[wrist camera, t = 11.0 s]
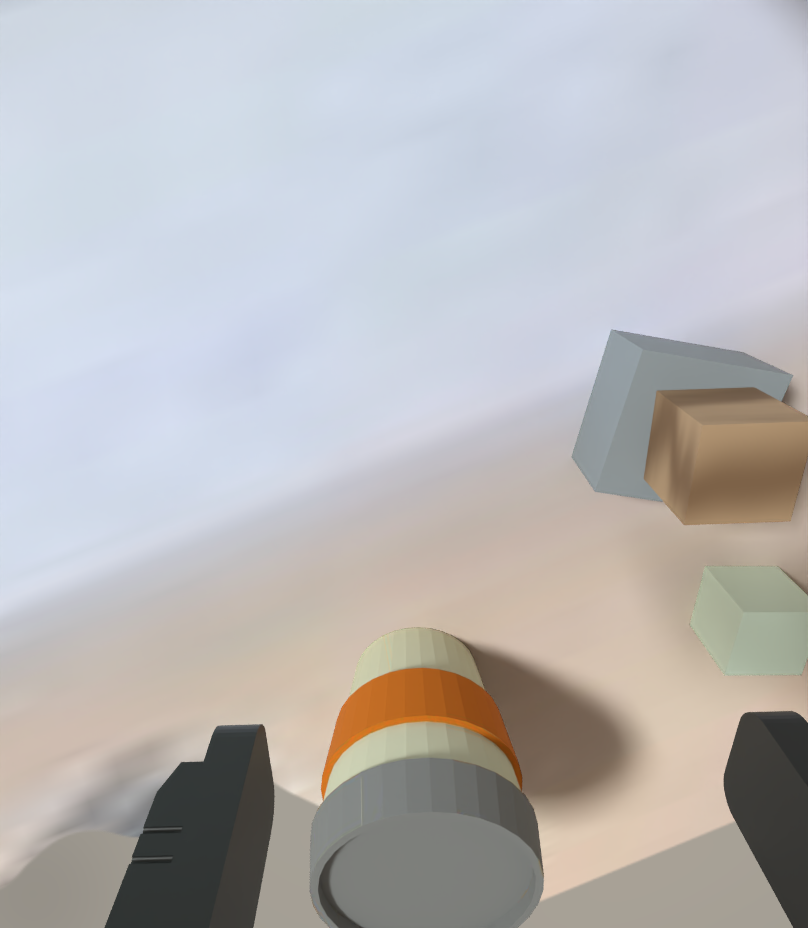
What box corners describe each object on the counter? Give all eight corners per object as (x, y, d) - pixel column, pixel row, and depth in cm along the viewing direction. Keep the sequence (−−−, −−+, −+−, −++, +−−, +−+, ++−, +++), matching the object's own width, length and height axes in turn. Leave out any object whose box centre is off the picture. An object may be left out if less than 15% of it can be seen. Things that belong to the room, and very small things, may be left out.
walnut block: (656, 390, 31) (702, 425, 26) (754, 387, 31) (817, 421, 26) (643, 478, 33) (683, 524, 28) (735, 475, 33) (790, 521, 28)
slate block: (609, 328, 34) (643, 349, 30) (741, 351, 35) (793, 375, 31) (570, 455, 38) (594, 491, 33) (691, 474, 38) (731, 512, 34)
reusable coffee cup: (455, 754, 48) (480, 979, 34) (306, 709, 46) (270, 930, 32) (531, 640, 43) (596, 846, 30) (370, 583, 41) (359, 778, 27)
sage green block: (704, 565, 41) (743, 612, 36) (777, 565, 41) (824, 612, 37) (689, 624, 43) (724, 675, 39) (758, 623, 43) (801, 675, 39)
